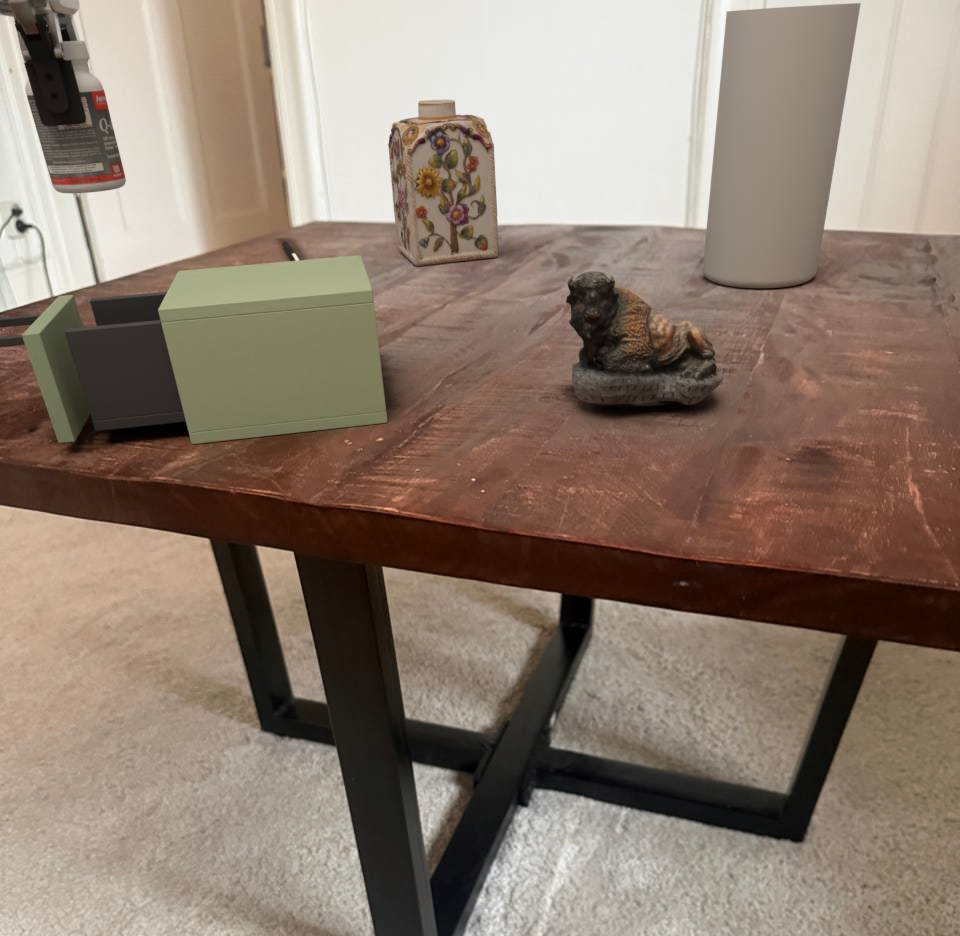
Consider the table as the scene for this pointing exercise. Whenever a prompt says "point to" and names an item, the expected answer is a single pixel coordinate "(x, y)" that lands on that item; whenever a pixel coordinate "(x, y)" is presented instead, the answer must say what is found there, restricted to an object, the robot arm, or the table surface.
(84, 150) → the pill bottle
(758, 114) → the cylinder vase
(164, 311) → the sage green drawer box
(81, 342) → the pull-out drawer
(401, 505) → the table surface
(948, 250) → the table surface
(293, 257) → the pen
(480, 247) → the decorative jar
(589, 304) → the bison figurine
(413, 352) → the table surface
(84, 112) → the robot arm
